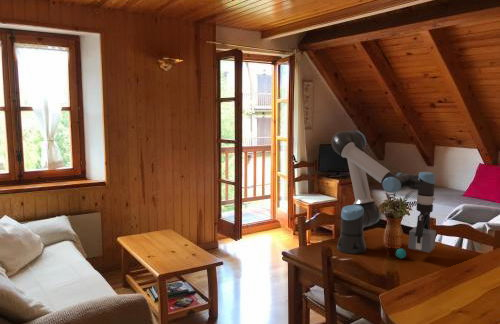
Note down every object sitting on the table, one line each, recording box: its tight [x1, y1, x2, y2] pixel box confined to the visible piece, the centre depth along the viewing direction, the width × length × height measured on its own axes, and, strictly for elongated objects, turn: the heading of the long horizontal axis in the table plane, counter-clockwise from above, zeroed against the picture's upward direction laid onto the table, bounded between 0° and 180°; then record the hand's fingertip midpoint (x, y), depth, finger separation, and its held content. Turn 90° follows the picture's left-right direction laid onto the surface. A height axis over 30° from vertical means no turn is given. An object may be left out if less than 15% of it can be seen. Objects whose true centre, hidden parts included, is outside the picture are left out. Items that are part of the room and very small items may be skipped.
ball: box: [395, 248, 407, 259], centre depth 213 cm, size 5×5×5 cm
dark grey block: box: [407, 226, 437, 254], centre depth 211 cm, size 10×10×9 cm
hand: (421, 246), depth 212 cm, fingers closed on dark grey block, 10 cm apart
